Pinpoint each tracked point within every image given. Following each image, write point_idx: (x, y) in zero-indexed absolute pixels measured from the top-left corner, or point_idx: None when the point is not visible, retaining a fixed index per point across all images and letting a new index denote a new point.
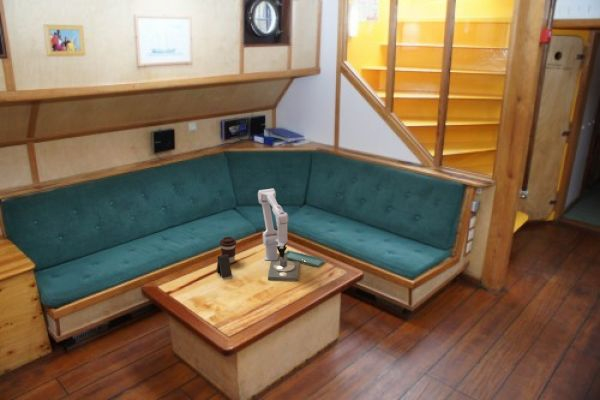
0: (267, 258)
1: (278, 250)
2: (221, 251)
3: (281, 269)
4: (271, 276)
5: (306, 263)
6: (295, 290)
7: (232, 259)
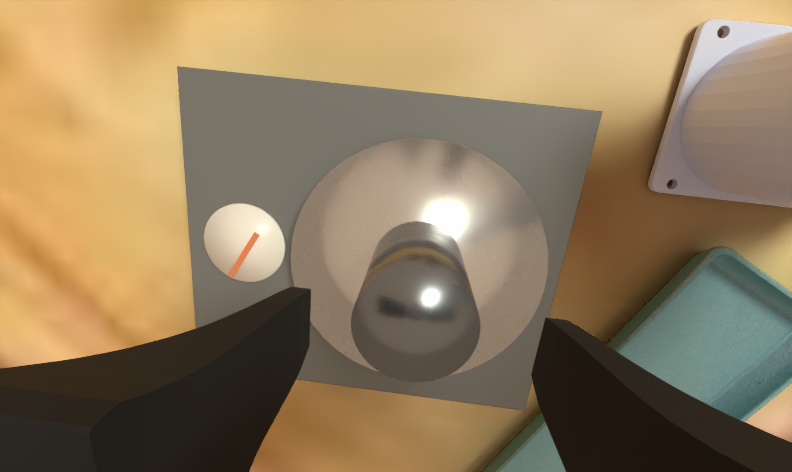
0: (720, 61)
1: (104, 360)
2: None
3: (317, 236)
4: (192, 111)
5: (504, 454)
6: (63, 317)
7: None
